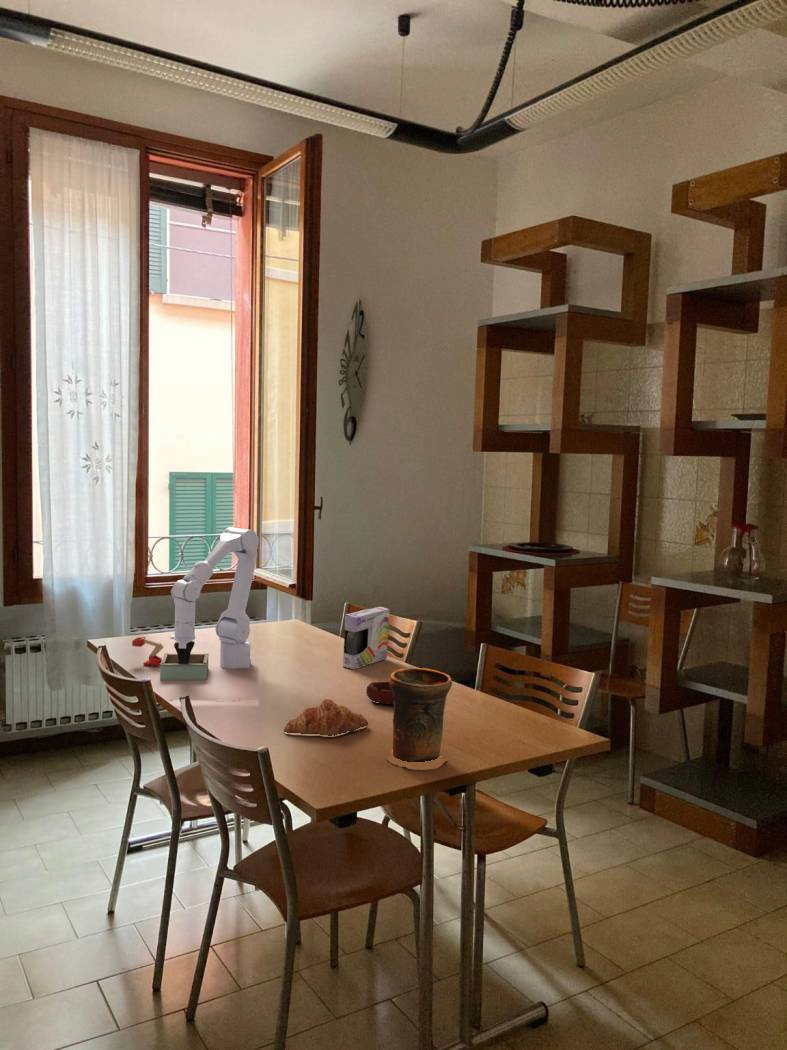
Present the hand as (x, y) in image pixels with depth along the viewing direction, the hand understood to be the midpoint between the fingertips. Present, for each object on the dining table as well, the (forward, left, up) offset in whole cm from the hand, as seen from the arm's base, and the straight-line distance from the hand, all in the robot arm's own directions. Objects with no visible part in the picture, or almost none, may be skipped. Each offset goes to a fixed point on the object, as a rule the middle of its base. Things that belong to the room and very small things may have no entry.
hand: (183, 666), depth 253 cm
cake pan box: (-56, -20, -5) cm, 60 cm away
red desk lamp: (+10, -13, -5) cm, 17 cm away
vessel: (-58, +65, -5) cm, 87 cm away
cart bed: (0, -4, -4) cm, 6 cm away
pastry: (-38, +44, -5) cm, 59 cm away
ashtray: (-62, +20, -5) cm, 65 cm away
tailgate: (0, +2, -3) cm, 4 cm away
